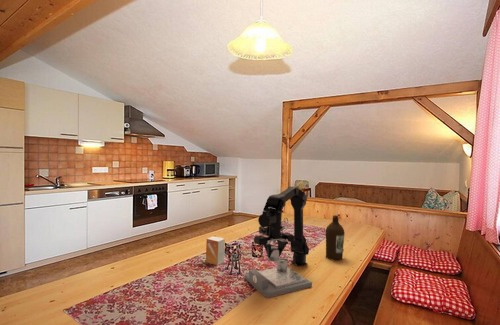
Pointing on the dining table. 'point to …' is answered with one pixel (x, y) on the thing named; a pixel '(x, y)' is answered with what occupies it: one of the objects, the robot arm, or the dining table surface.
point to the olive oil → (334, 240)
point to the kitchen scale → (276, 281)
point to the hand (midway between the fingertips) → (273, 257)
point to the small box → (215, 250)
